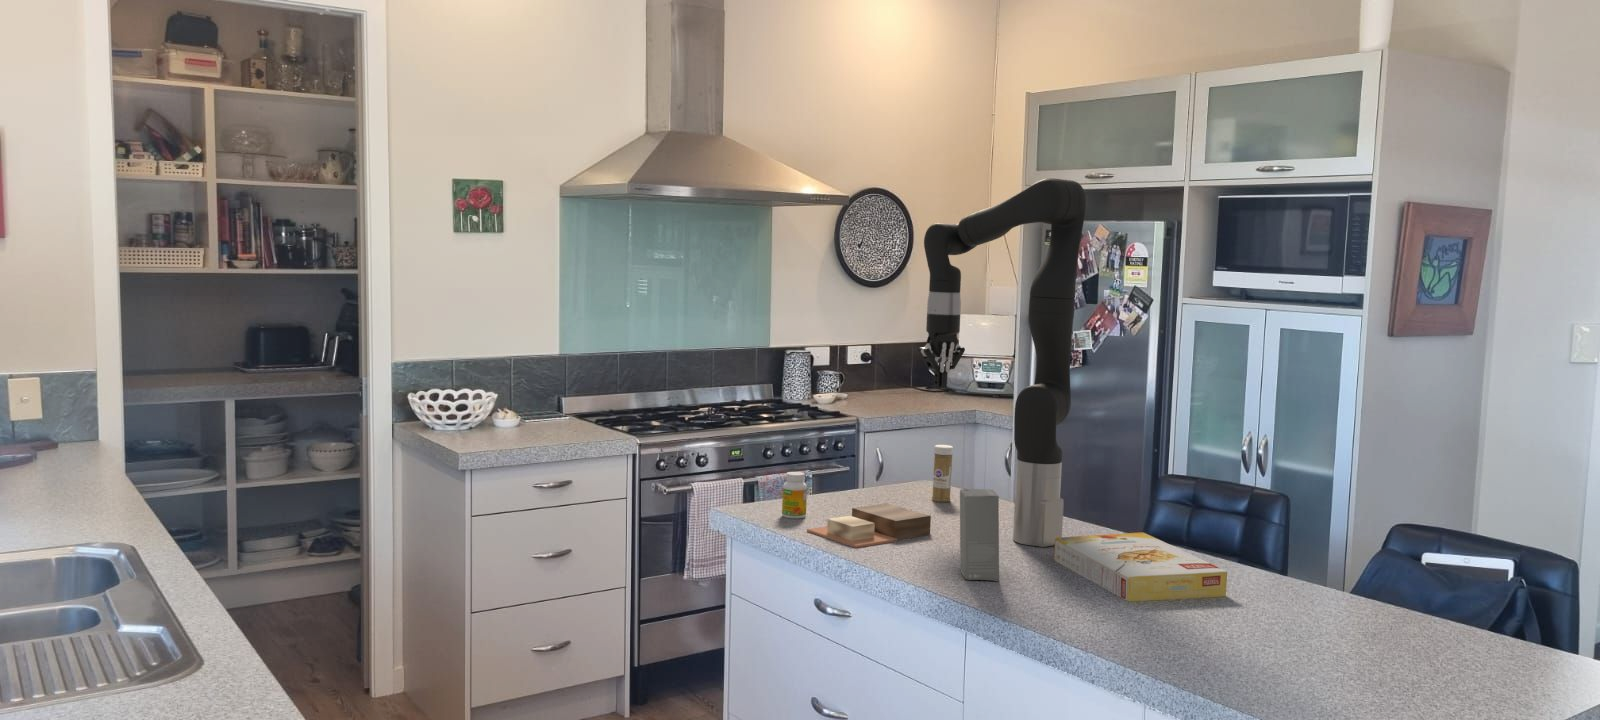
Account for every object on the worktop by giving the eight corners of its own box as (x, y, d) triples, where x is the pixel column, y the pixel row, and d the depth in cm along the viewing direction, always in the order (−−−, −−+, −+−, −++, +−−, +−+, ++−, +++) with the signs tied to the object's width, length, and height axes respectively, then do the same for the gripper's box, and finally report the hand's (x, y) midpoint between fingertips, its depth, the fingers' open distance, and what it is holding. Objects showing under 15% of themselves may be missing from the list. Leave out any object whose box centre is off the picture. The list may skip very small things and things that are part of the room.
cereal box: (1143, 530, 237) (1230, 567, 210) (1142, 557, 238) (1229, 597, 211) (1052, 535, 232) (1130, 574, 205) (1051, 563, 232) (1129, 605, 205)
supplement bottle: (778, 517, 262) (780, 474, 261) (786, 512, 267) (787, 470, 266) (801, 519, 260) (803, 476, 259) (808, 515, 265) (810, 472, 264)
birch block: (852, 526, 240) (852, 541, 240) (874, 523, 244) (874, 537, 244) (827, 518, 246) (827, 532, 246) (849, 515, 250) (849, 529, 250)
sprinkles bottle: (929, 501, 285) (932, 446, 283) (934, 497, 289) (936, 443, 288) (948, 503, 283) (951, 447, 282) (952, 499, 287) (955, 445, 286)
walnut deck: (930, 534, 251) (930, 515, 250) (895, 539, 244) (896, 520, 244) (885, 521, 262) (886, 503, 261) (851, 526, 255) (852, 508, 255)
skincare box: (999, 582, 215) (1003, 496, 214) (960, 580, 215) (964, 495, 214) (993, 569, 224) (997, 487, 222) (955, 568, 224) (959, 486, 222)
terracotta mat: (896, 541, 243) (896, 538, 243) (856, 547, 237) (856, 545, 237) (846, 525, 256) (846, 523, 256) (806, 531, 249) (807, 529, 249)
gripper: (934, 313, 260) (930, 391, 261) (976, 313, 268) (972, 389, 269) (910, 311, 266) (907, 387, 267) (952, 311, 274) (949, 385, 275)
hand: (940, 388), depth 268 cm, fingers closed
